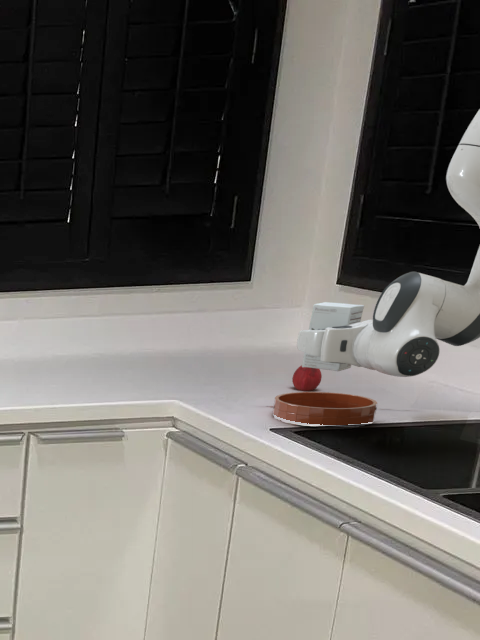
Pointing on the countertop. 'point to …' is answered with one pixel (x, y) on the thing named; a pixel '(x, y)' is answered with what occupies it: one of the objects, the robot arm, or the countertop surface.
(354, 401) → the bowl
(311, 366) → the white packaging box
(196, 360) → the countertop surface
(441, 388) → the countertop surface
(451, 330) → the robot arm
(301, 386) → the onion
